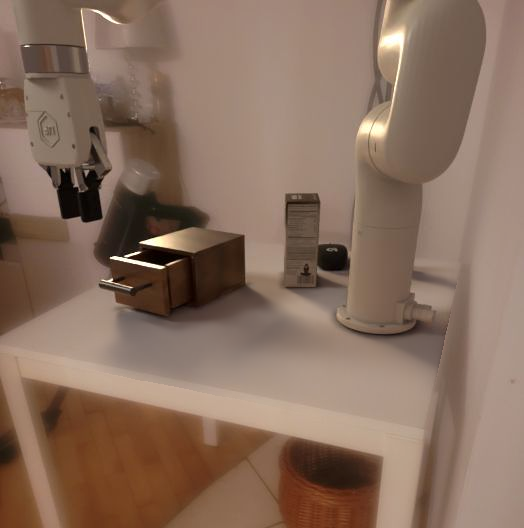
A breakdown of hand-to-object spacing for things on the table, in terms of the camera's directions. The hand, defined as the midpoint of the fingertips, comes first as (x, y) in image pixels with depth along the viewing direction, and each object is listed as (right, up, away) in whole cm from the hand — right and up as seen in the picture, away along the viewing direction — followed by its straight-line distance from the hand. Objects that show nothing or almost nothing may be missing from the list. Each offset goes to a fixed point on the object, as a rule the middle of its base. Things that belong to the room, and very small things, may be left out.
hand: (82, 217), depth 68 cm
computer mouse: (+40, +1, +40) cm, 57 cm away
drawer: (+7, -10, +17) cm, 21 cm away
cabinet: (+12, -7, +25) cm, 29 cm away
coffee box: (+32, -5, +30) cm, 44 cm away
